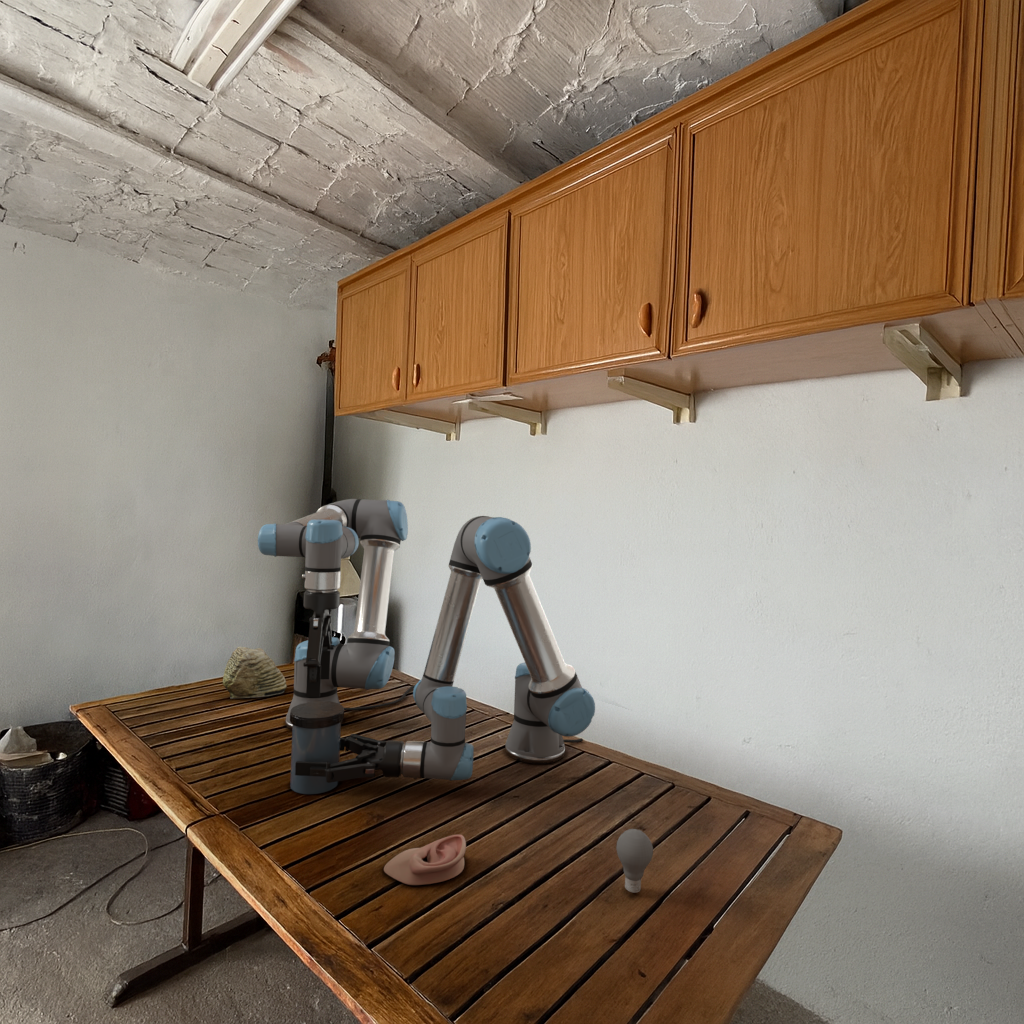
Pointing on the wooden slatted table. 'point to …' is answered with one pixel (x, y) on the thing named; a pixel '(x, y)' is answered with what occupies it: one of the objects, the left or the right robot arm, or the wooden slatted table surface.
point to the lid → (316, 714)
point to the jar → (314, 756)
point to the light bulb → (634, 857)
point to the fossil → (252, 674)
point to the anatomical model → (429, 862)
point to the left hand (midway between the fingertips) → (318, 687)
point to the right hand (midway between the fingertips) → (306, 755)
